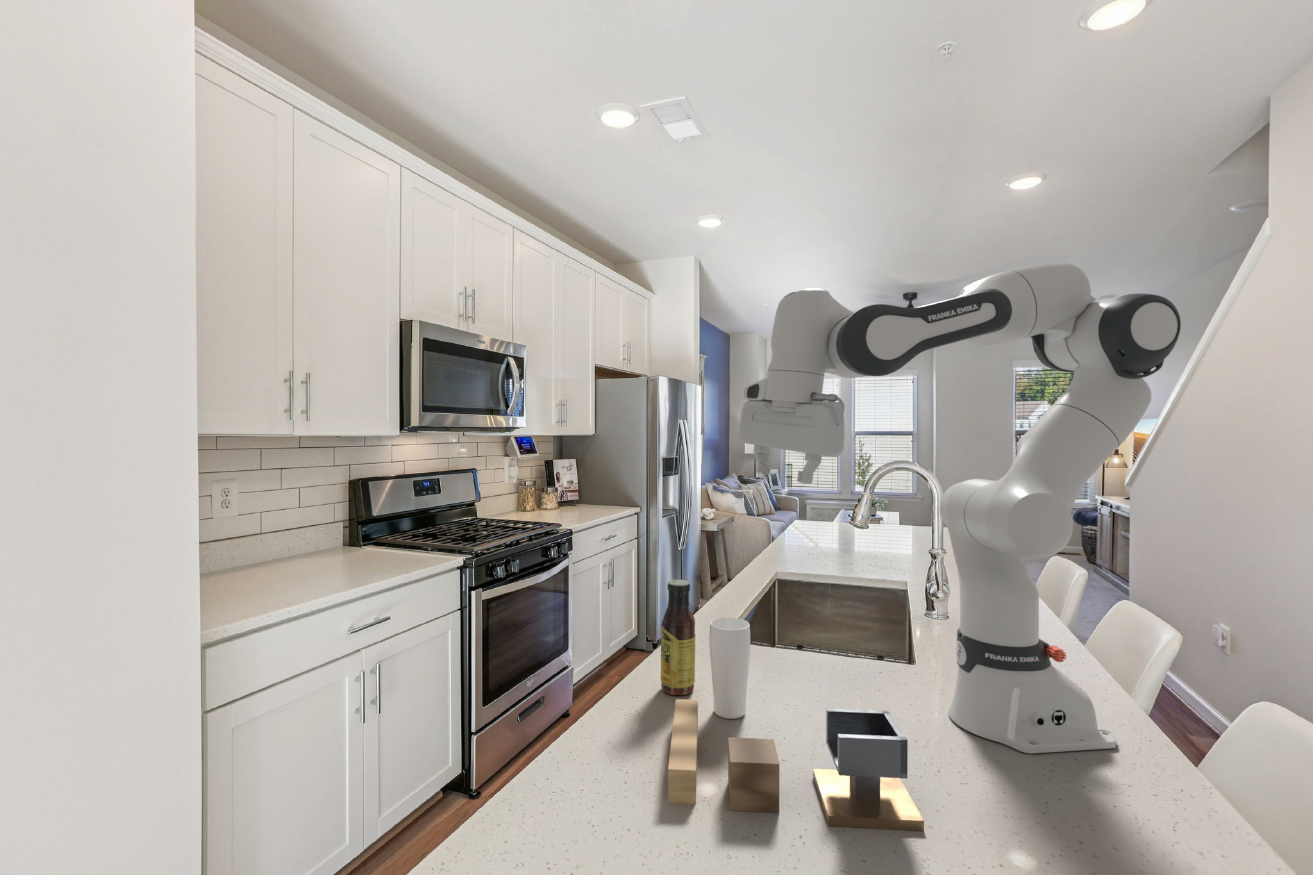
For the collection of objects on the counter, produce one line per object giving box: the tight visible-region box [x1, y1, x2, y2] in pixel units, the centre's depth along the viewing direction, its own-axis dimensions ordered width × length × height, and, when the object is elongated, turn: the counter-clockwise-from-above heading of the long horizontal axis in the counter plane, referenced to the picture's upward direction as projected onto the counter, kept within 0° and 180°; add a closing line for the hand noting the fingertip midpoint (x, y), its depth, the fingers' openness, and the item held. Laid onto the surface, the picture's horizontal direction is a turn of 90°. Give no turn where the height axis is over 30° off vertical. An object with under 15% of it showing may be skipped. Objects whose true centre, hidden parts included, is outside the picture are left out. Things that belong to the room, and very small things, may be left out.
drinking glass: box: [708, 617, 751, 720], centre depth 99 cm, size 7×7×15 cm
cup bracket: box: [812, 708, 925, 832], centre depth 75 cm, size 11×10×10 cm
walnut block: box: [727, 736, 780, 814], centre depth 76 cm, size 6×6×6 cm
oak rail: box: [667, 698, 699, 805], centre depth 85 cm, size 20×4×4 cm, turn 175°
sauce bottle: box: [660, 579, 696, 696], centre depth 108 cm, size 7×6×20 cm
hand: (782, 478), depth 95 cm, fingers open, 8 cm apart
